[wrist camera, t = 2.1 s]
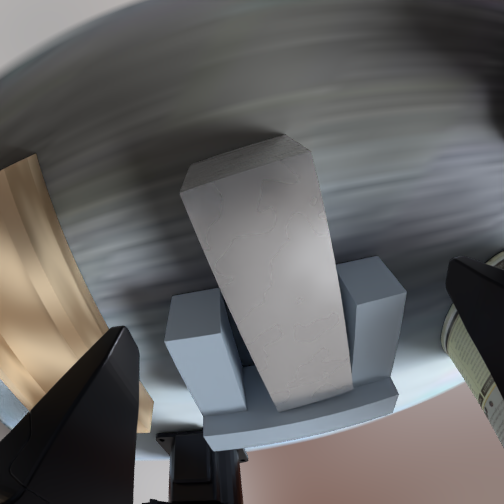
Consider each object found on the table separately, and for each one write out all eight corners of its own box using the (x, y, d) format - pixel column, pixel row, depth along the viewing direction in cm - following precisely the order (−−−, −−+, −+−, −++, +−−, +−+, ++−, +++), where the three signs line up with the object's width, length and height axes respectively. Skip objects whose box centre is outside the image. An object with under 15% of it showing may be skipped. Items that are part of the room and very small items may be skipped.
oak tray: (153, 401, 19) (150, 432, 17) (55, 403, 19) (47, 428, 17) (35, 153, 11) (3, 169, 9) (-62, 206, 11) (-88, 225, 9)
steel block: (332, 338, 18) (353, 389, 15) (268, 358, 18) (278, 412, 15) (284, 133, 12) (311, 151, 9) (190, 163, 12) (179, 193, 9)
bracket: (368, 359, 19) (392, 412, 15) (211, 391, 19) (213, 451, 15) (377, 255, 15) (420, 310, 11) (172, 295, 15) (160, 364, 11)
